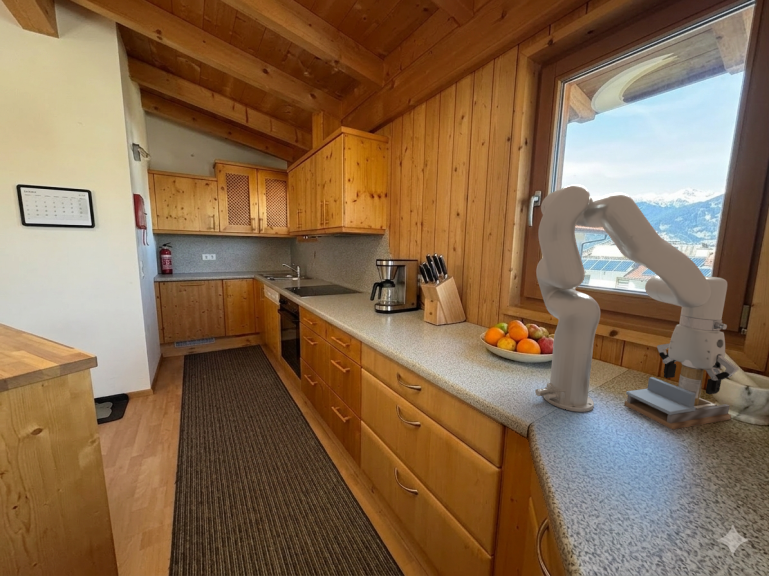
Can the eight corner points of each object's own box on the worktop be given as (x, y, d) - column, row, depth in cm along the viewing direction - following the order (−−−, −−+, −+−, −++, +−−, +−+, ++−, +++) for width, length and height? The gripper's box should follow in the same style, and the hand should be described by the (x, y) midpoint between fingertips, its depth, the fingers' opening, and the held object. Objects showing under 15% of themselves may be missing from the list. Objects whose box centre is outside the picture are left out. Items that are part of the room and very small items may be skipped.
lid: (669, 414, 76) (672, 398, 75) (626, 394, 86) (627, 379, 86) (695, 410, 78) (697, 394, 77) (649, 390, 88) (651, 376, 88)
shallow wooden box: (672, 429, 76) (674, 416, 75) (624, 404, 87) (625, 393, 87) (730, 419, 81) (732, 406, 80) (677, 397, 92) (679, 386, 92)
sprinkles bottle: (700, 407, 84) (708, 359, 82) (695, 412, 82) (703, 363, 80) (677, 399, 88) (685, 354, 86) (672, 404, 85) (680, 357, 83)
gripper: (754, 332, 74) (741, 399, 77) (672, 315, 91) (664, 371, 93) (732, 333, 72) (719, 402, 75) (653, 316, 89) (644, 373, 91)
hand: (689, 385), depth 84 cm, fingers open, 9 cm apart
